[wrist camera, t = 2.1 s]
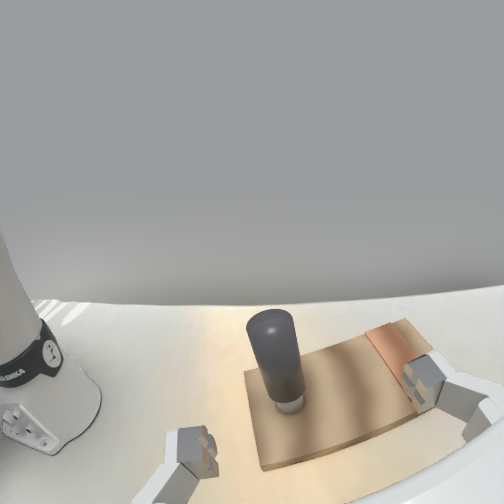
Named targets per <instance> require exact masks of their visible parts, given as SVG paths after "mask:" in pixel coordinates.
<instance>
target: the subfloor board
mask: <svg viewBox="0 0 504 504" xmlns="http://www.w3.org/2000/svg"><path fill="white" fill-rule="evenodd" d="M432 350H434V349H433V348H432V347H431V346H430V345H429V343H428V342H427V341H426V340H425V339H424V338H423V337H422V336H421V334H420V333H419V332H418V331H417V330H416V329H415V328H414V327H413V326H412V324H411V323H410V322H409V321H408V320H407V319H406V318H404V319H401V320H399V321H397V322H394V323H391V322H390V323H388V324H385V325H383V326H380V327H378V328H375V329H372V330H370V331H367V332H365V334H364V335H361V336H358V337H355V338H353V339H350V340H347V341H344V342H341V343H339V344H336V345H333V346H330V347H327V348H324V349H321V350H318V351H315V352H311V353H308V354H305V355H302V356H300V358H301V363H302V368H303V374H304V379H305V385H306V388H305V391H304V393H303V399H304V405H303V407H302V409H301V410H300V411H299V412H297V413H294V414H283V413H281V412H280V411H279V410H278V408H277V405H276V402H275V401H273V400H272V399H271V398H270V397H269V396H268V393H267V390H266V387H265V384H264V381H263V378H262V375H261V372H260V369H259V368H256V369H252V370H248V371H244V376H245V382H246V388H247V394H248V400H249V406H250V412H251V417H252V423H253V429H254V434H255V440H256V445H257V451H258V456H259V461H260V466H261V468H262V469H263V471H267V470H272V469H276V468H280V467H284V466H288V465H292V464H296V463H300V462H303V461H307V460H310V459H313V458H317V457H320V456H323V455H326V454H329V453H332V452H335V451H338V450H341V449H344V448H346V447H349V446H352V445H355V444H357V443H360V442H362V441H365V440H367V439H370V438H372V437H374V436H377V435H379V434H381V433H384V432H386V431H388V430H390V429H393V428H395V427H397V426H399V425H401V424H403V423H405V422H407V421H409V420H411V419H413V418H415V417H417V416H419V415H421V414H423V413H425V412H427V411H428V410H430V409H432V408H434V407H435V406H434V407H432V408H430V409H428V410H426V411H424V412H422V413H420V414H418V413H417V411H416V409H415V408H414V406H413V405H412V398H411V397H408V396H407V395H406V394H405V392H404V390H403V388H402V383H401V380H402V376H403V374H404V373H405V372H404V370H403V367H404V365H405V363H407V362H409V361H411V360H413V359H415V358H417V357H419V356H421V355H423V354H426V353H428V352H430V351H432Z"/></svg>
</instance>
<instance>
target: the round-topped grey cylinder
mask: <svg viewBox="0 0 504 504" xmlns="http://www.w3.org/2000/svg"><path fill="white" fill-rule="evenodd" d="M246 330H247V333H248V336H249V339H250V342H251V345H252V348H253V352H254V355H255V358H256V361H257V364H258V367H259V369H260V372H261V375H262V378H263V381H264V384H265V387H266V390H267V393H268V396H269V397H270V398H271V399H272V400H273V401H275V402H276V405H277V408H278V410H279V411H280V412H281V413H283V414H294V413H297V412H299V411H300V410H301V409H302V407H303V405H304V399H303V393H304V391H305V388H306V385H305V379H304V374H303V368H302V363H301V358H300V353H299V348H298V343H297V338H296V332H295V327H294V322H293V318H292V316H291V314H290V313H289V312H287V311H285V310H281V309H270V310H265V311H262V312H260V313H258V314H256V315H254V316H253V317H252V318H251V319H250V320H249V321H248V323H247V326H246Z"/></svg>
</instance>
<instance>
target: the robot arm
mask: <svg viewBox="0 0 504 504" xmlns="http://www.w3.org/2000/svg"><path fill="white" fill-rule="evenodd" d="M403 370H404V372H405V373H404V374H403V376H402V380H401V383H402V388H403V390H404V392H405V394H406V395H407V396H408V397H411V398H412V405H413V406H414V408H415V409H416V411H417V413H418V414H420V413H422V412H424V411H426V410H428V409H430V408H432V407H434V406H435V407H436V408H438V409H440V410H442V411H444V412H446V413H448V414H450V415H452V416H454V417H456V418H458V419H460V420H462V421H464V422H466V423H467V425H466V427H465V428H464V430H463V432H462V436H463V438H464V439H465V441H466V444H465V445H463V446H462V447H460V448H459V449H457V450H456V451H454V452H452V453H451V454H449V455H448V456H446V457H444V458H443V459H441V460H439V461H438V462H436V463H434V464H432V465H431V466H429V467H427V468H425V469H423V470H421V471H419V472H418V473H416V474H414V475H412V476H410V477H408V478H406V479H404V480H402V481H399V482H397V483H395V484H393V485H391V486H388V487H386V488H384V489H382V490H379V491H377V492H374V493H372V494H369V495H367V496H364V497H362V498H359V499H356V500H353V501H351V502H348V503H345V504H504V387H503V385H501V384H497V383H494V382H491V381H488V380H485V379H481V378H478V377H475V376H472V375H469V374H466V373H463V372H460V371H459V372H458V373H457V372H456V371H455V370H454V369H453V367H452V366H451V365H450V364H449V363H448V362H447V360H446V359H445V358H444V357H443V356H442V355H441V353H440V352H439V351H438V350H436V349H434V350H432V351H430V352H428V353H426V354H423V355H421V356H419V357H417V358H415V359H413V360H411V361H409V362H407V363H405V365H404V367H403ZM100 401H101V394H100V390H99V388H98V386H97V384H96V383H95V382H93V381H92V380H91V379H90V378H88V377H87V376H86V373H85V371H84V370H83V369H82V368H81V367H78V366H77V365H76V364H75V363H74V362H73V361H72V359H71V358H70V357H69V356H68V355H67V354H66V352H65V351H64V350H63V349H62V348H61V346H60V345H59V344H58V343H57V340H56V338H55V337H54V335H53V333H52V332H51V329H50V328H49V326H48V325H47V324H46V323H45V321H44V320H43V319H41V318H39V316H38V314H37V312H36V311H35V309H34V307H33V305H32V303H31V302H30V300H29V298H28V296H27V294H26V292H25V290H24V288H23V287H22V284H21V282H20V280H19V278H18V276H17V274H16V272H15V269H14V267H13V264H12V261H11V258H10V255H9V252H8V249H7V245H6V242H5V239H4V236H3V233H2V229H1V226H0V414H1V415H2V420H3V433H4V434H5V435H6V436H7V437H9V438H11V439H13V440H16V441H18V442H20V443H22V444H24V445H27V446H29V447H31V448H34V449H36V450H38V451H41V452H43V453H46V454H48V455H54V454H56V453H57V452H58V451H59V450H60V449H61V448H62V447H63V446H64V444H66V443H67V442H68V441H70V440H72V439H74V438H75V437H77V436H78V435H80V434H81V433H82V432H83V431H84V430H85V429H86V428H87V427H88V426H89V425H90V424H91V422H92V421H93V419H94V418H95V416H96V414H97V412H98V409H99V406H100ZM216 456H217V447H216V443H215V440H214V438H213V436H212V435H211V434H208V432H207V428H206V427H205V426H204V425H202V426H195V427H187V428H178V429H170V430H167V432H166V439H165V455H164V464H160V466H159V467H158V468H157V470H156V471H155V472H154V473H153V475H152V476H151V477H150V479H149V480H148V481H147V483H146V484H145V485H144V486H143V488H142V489H141V490H140V492H139V493H138V494H137V495H136V497H135V498H134V499H133V500H132V504H187V503H188V501H189V499H190V497H191V495H192V494H193V492H194V490H195V488H196V486H197V485H198V483H199V481H200V480H199V479H207V478H214V477H219V469H218V463H217V462H216V460H215V457H216Z"/></svg>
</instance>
